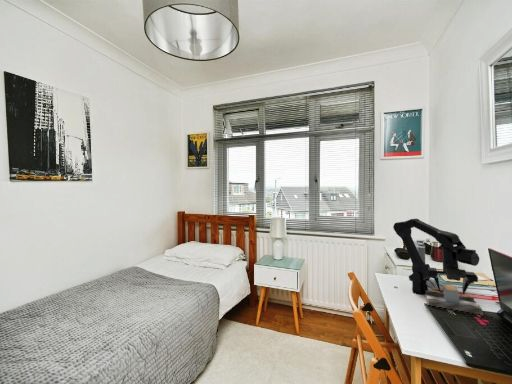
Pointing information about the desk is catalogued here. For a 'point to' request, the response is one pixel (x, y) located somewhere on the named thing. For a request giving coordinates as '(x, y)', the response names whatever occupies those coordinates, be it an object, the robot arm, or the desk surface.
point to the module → (451, 294)
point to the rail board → (464, 304)
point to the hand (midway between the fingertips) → (451, 291)
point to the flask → (420, 248)
